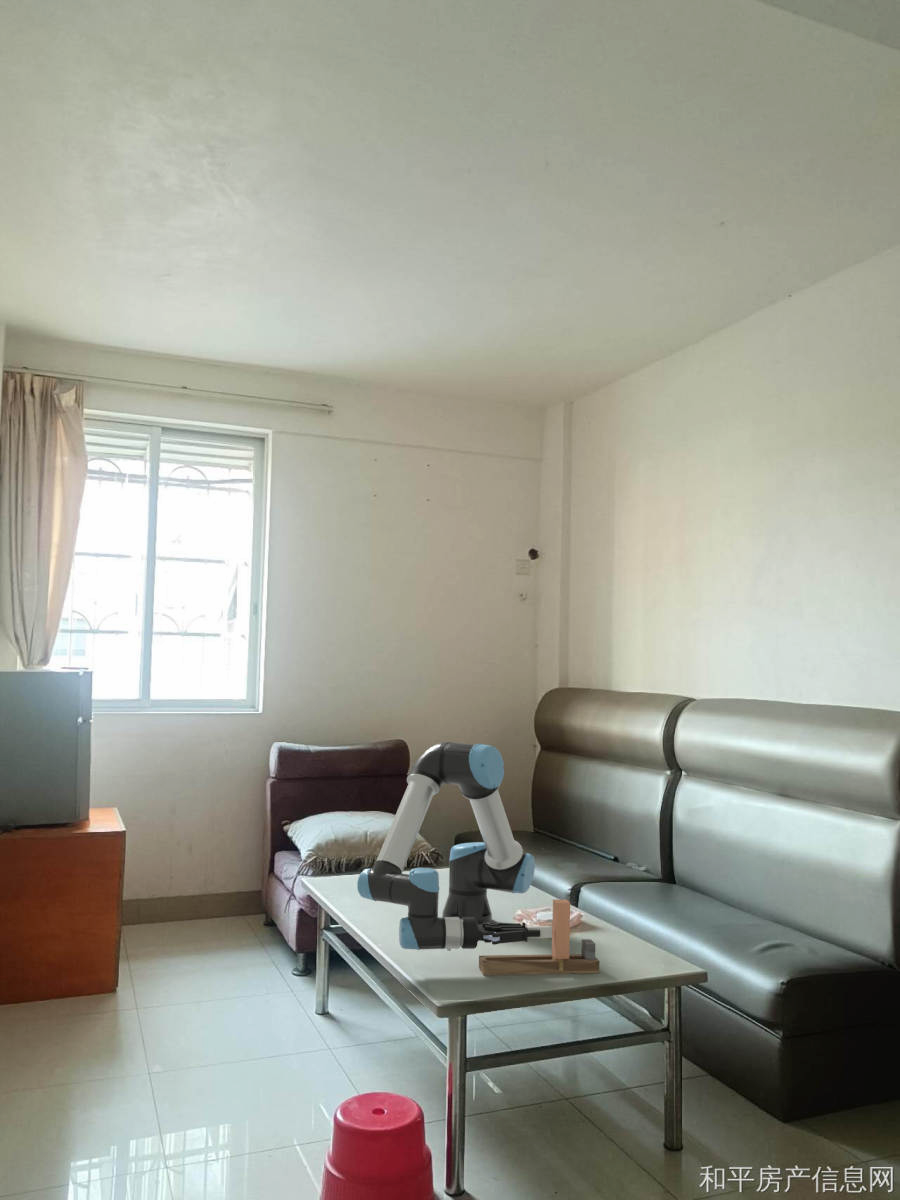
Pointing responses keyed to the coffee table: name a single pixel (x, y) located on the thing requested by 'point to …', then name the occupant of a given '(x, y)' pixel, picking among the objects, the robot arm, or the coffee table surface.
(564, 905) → the block
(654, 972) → the coffee table surface
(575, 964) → the beam
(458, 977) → the coffee table surface
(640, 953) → the coffee table surface
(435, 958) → the coffee table surface
